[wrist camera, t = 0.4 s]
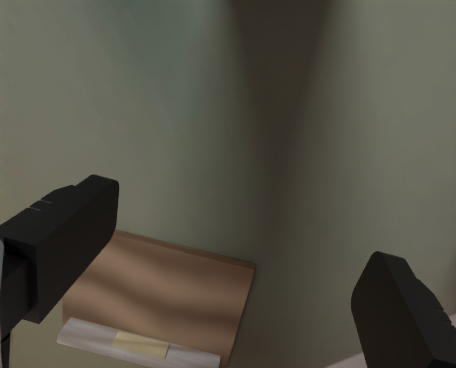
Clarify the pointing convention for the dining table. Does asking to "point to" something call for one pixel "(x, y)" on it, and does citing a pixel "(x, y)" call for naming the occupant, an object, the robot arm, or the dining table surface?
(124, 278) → the shelf board
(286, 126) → the dining table surface
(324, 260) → the dining table surface
